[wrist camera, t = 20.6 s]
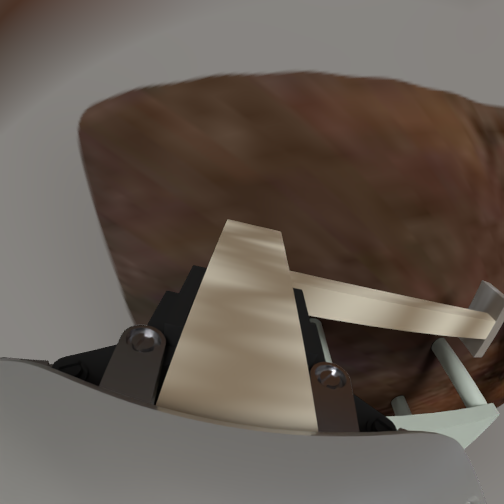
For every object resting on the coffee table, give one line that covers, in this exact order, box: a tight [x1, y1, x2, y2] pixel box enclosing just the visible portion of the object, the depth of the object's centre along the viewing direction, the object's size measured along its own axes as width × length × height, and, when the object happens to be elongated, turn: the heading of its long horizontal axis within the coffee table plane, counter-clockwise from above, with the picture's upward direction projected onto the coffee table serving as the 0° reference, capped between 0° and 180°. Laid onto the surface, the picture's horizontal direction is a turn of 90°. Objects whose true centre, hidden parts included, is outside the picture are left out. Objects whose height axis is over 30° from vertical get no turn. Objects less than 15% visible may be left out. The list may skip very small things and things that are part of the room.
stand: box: [310, 318, 499, 449], centre depth 19 cm, size 17×11×12 cm, turn 77°
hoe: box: [156, 219, 504, 432], centre depth 10 cm, size 21×5×14 cm, turn 77°
